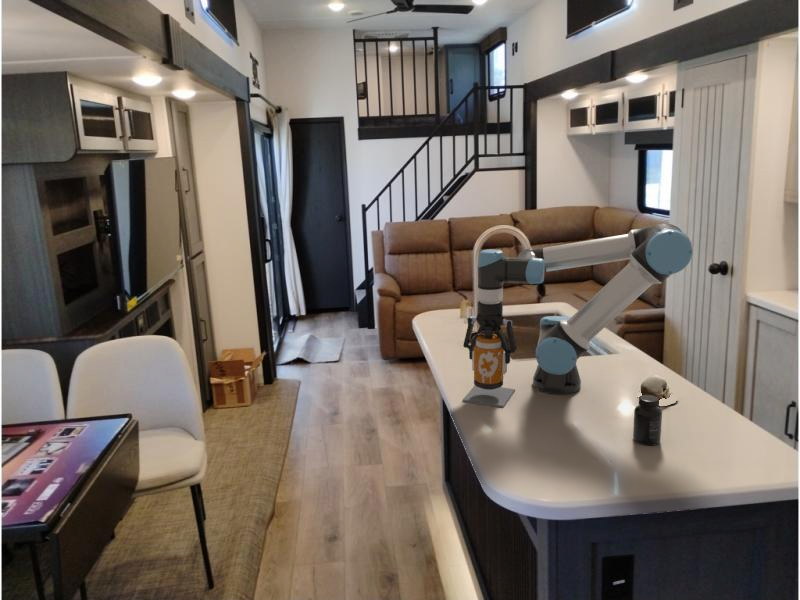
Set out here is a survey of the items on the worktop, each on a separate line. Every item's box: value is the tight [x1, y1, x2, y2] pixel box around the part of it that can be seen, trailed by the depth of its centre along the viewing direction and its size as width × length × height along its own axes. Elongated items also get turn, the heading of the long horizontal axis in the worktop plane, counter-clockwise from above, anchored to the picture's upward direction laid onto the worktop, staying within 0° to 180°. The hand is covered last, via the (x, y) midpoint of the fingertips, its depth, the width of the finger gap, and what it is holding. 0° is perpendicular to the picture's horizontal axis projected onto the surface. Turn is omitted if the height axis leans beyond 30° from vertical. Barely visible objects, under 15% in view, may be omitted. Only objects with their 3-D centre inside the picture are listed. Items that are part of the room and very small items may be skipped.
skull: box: [640, 374, 672, 400], centre depth 192 cm, size 12×10×10 cm
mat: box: [462, 385, 516, 408], centre depth 198 cm, size 13×14×1 cm
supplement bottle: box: [632, 395, 663, 446], centre depth 165 cm, size 7×7×12 cm
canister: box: [473, 326, 504, 390], centre depth 195 cm, size 9×11×20 cm
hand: (489, 370), depth 196 cm, fingers closed on canister, 9 cm apart
